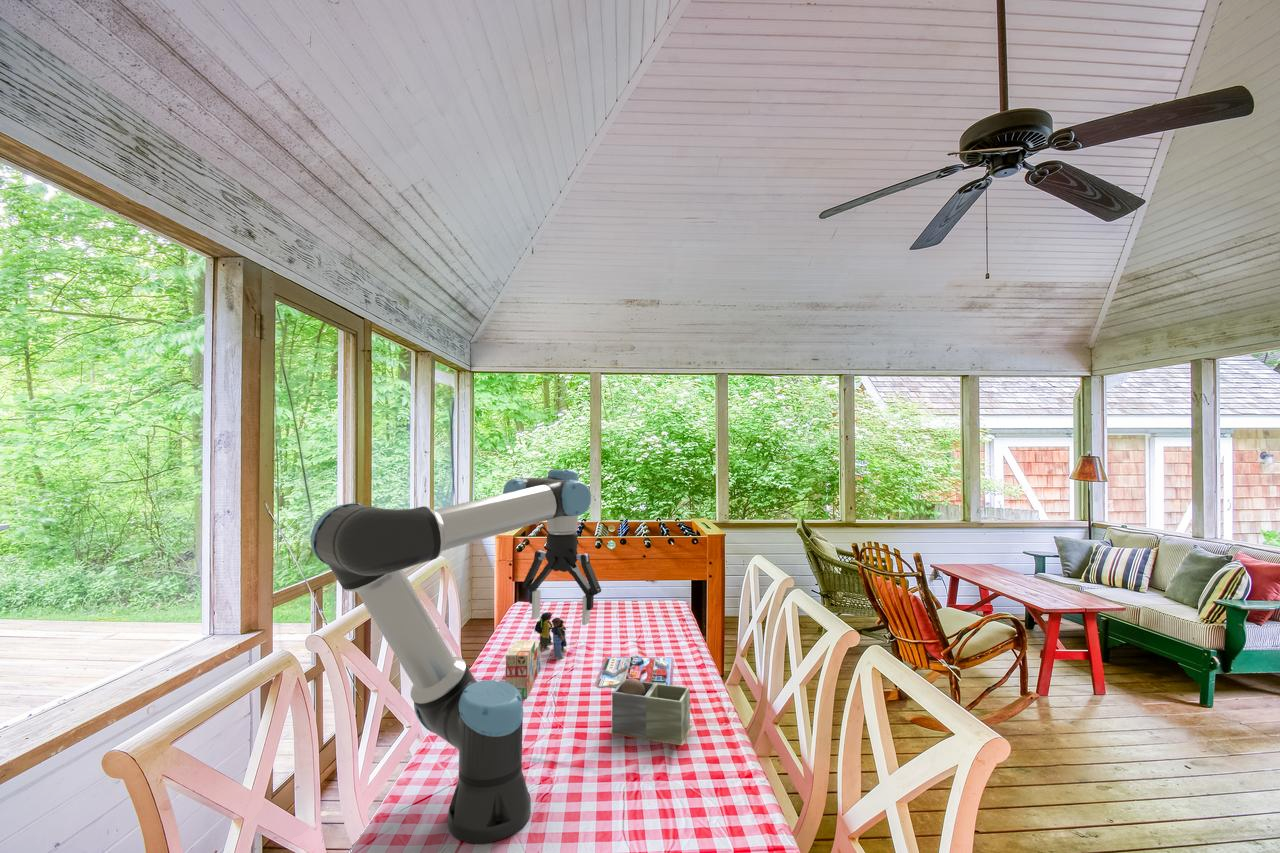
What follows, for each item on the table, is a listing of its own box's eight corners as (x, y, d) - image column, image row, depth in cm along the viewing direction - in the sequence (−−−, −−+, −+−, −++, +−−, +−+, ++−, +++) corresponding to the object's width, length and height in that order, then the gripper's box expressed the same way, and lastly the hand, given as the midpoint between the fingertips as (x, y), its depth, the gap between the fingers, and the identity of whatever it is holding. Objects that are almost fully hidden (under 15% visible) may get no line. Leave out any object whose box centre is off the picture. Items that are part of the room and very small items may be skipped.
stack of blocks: (521, 669, 180) (521, 630, 181) (540, 670, 180) (541, 630, 181) (504, 699, 159) (505, 654, 160) (527, 699, 159) (527, 654, 160)
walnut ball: (645, 710, 139) (639, 698, 136) (622, 708, 141) (615, 697, 137) (649, 686, 144) (643, 674, 140) (626, 685, 145) (620, 673, 142)
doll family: (582, 656, 192) (582, 616, 192) (559, 663, 186) (559, 622, 186) (545, 639, 209) (545, 603, 210) (523, 645, 203) (524, 607, 204)
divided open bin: (682, 749, 132) (682, 703, 132) (608, 737, 137) (609, 693, 138) (692, 729, 141) (692, 686, 142) (622, 719, 147) (622, 677, 147)
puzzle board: (605, 660, 190) (605, 652, 191) (673, 662, 189) (673, 654, 189) (589, 699, 160) (590, 689, 160) (671, 702, 158) (671, 692, 158)
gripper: (615, 533, 139) (613, 621, 137) (525, 527, 147) (523, 611, 146) (603, 537, 132) (601, 630, 130) (509, 531, 140) (507, 618, 139)
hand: (560, 620), depth 138 cm, fingers open, 13 cm apart
